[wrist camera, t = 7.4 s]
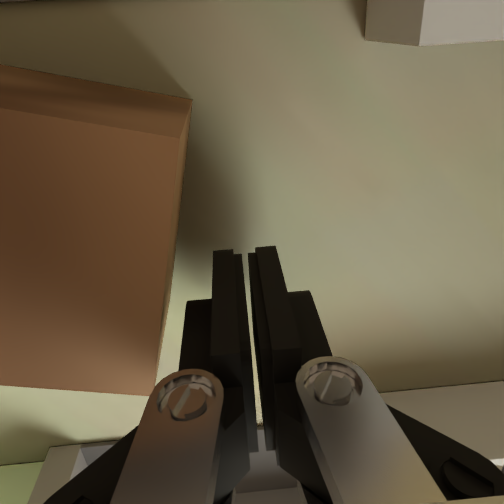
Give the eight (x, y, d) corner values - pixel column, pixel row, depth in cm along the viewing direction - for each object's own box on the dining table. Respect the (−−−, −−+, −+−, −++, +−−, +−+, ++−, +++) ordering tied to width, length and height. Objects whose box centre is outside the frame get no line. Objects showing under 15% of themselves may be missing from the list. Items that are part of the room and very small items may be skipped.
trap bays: (469, -417, 7) (594, -636, 4) (360, 492, 19) (378, 554, 16) (-343, -390, 6) (-653, -618, 4) (84, 522, 18) (66, 589, 16)
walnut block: (193, 98, 10) (179, 138, 7) (170, 295, 13) (152, 395, 9) (-75, 49, 9) (-251, 65, 6) (-37, 273, 12) (-140, 375, 9)
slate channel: (904, -172, 8) (1389, -310, 5) (593, 424, 17) (687, 524, 14) (-610, -90, 7) (-1338, -189, 4) (-113, 497, 16) (-202, 624, 13)
